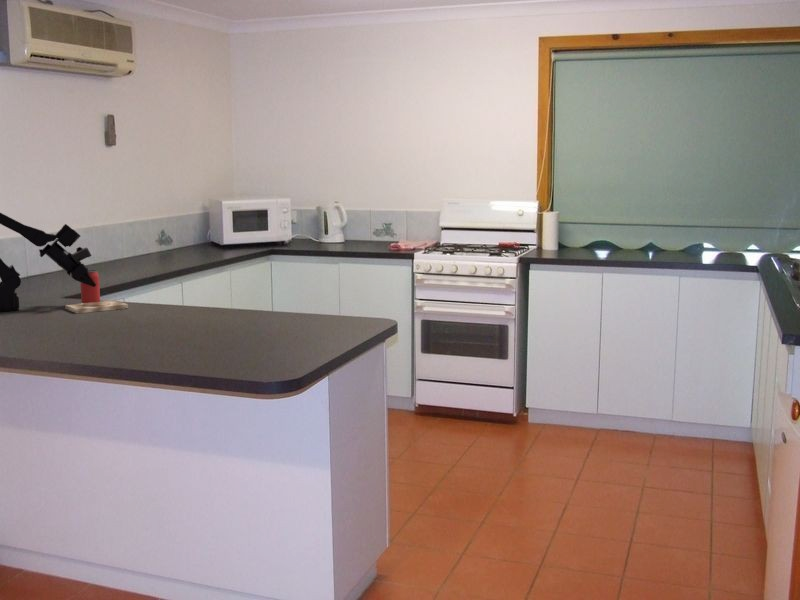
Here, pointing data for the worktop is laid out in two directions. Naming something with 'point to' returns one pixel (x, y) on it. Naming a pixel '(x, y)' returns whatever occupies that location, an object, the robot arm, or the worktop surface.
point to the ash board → (96, 306)
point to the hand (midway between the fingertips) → (94, 285)
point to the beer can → (91, 289)
